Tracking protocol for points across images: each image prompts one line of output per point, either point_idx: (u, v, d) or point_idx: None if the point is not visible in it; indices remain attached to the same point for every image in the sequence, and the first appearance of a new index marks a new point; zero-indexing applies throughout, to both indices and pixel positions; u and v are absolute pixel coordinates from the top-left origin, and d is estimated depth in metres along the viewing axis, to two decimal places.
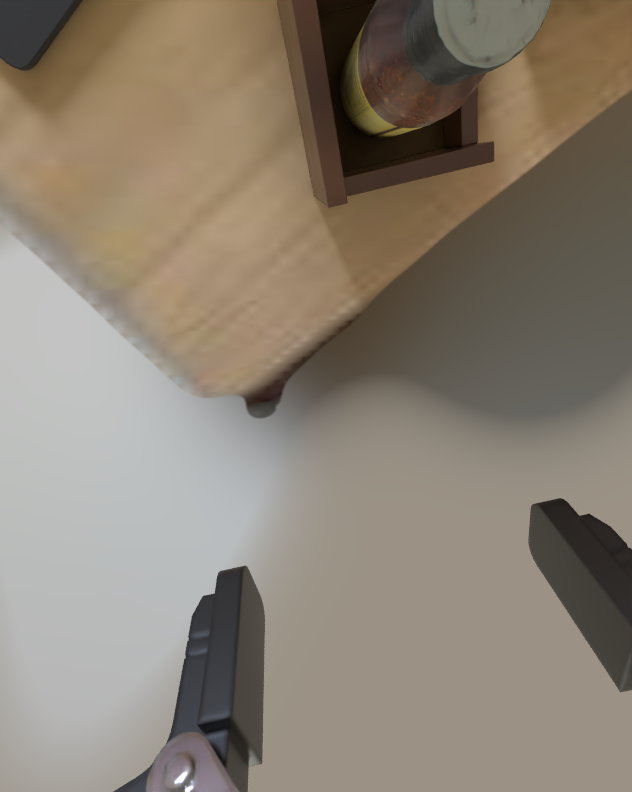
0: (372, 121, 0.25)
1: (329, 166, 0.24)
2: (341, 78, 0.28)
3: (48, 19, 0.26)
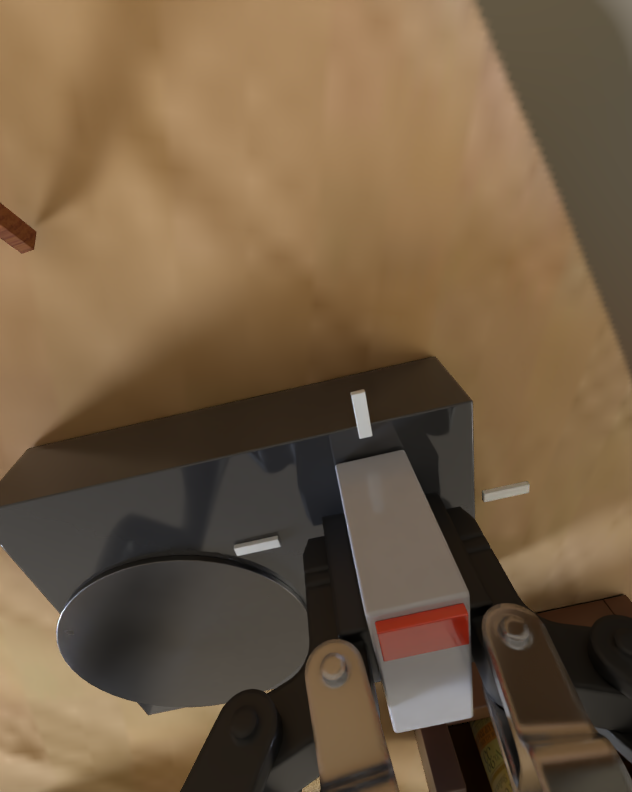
0: None
1: None
2: None
3: None
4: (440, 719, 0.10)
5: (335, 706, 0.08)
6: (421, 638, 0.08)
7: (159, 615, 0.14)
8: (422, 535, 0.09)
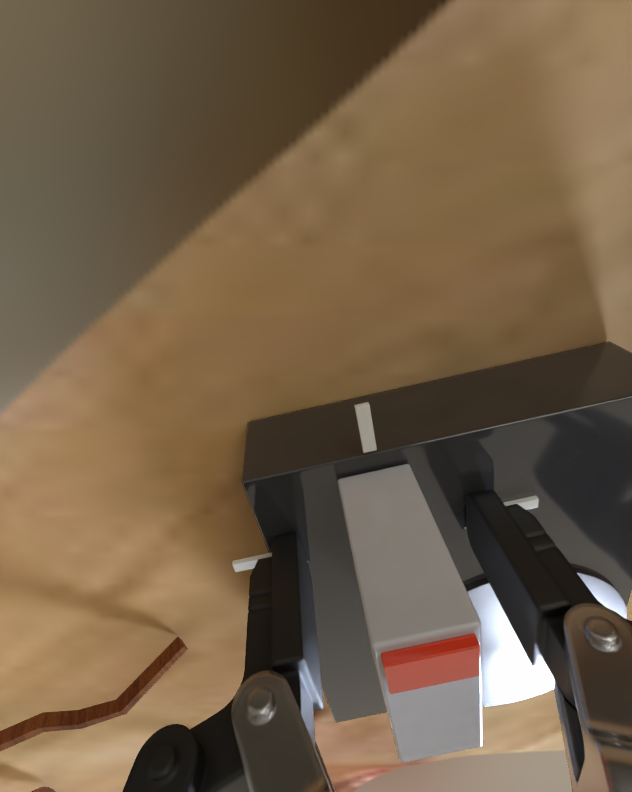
0: None
1: None
2: None
3: None
4: (448, 748, 0.09)
5: (266, 742, 0.07)
6: (430, 670, 0.07)
7: None
8: (430, 558, 0.08)
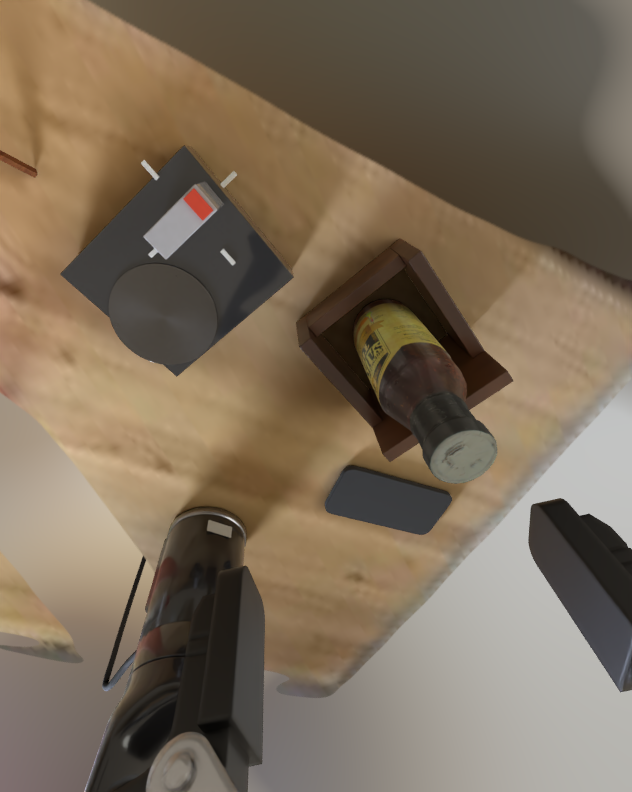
0: None
1: (487, 392, 0.33)
2: None
3: (426, 492, 0.50)
4: (159, 247, 0.28)
5: None
6: (198, 203, 0.27)
7: (142, 303, 0.34)
8: (215, 202, 0.28)
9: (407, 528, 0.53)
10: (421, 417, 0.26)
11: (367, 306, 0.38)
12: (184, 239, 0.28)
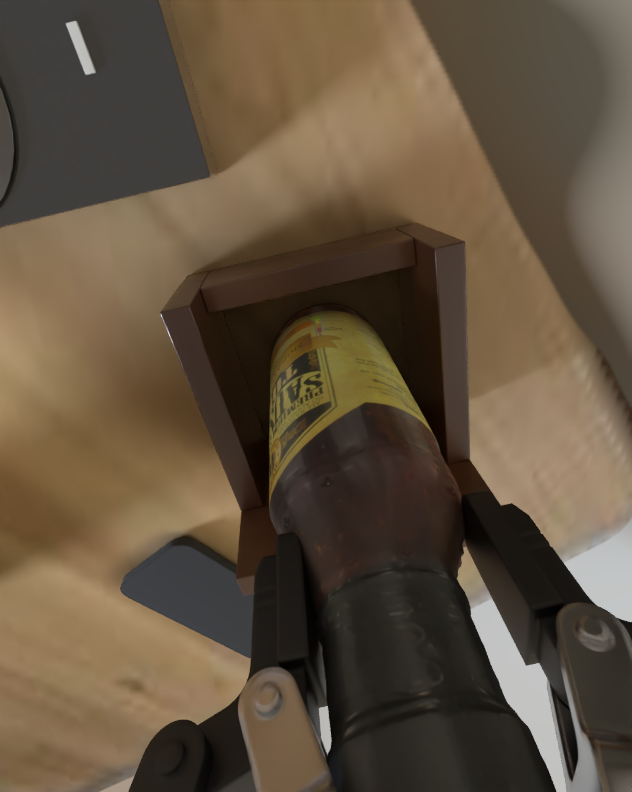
0: None
1: None
2: None
3: None
4: None
5: (272, 738, 0.07)
6: None
7: None
8: None
9: (234, 645, 0.35)
10: (362, 624, 0.09)
11: (318, 306, 0.22)
12: None
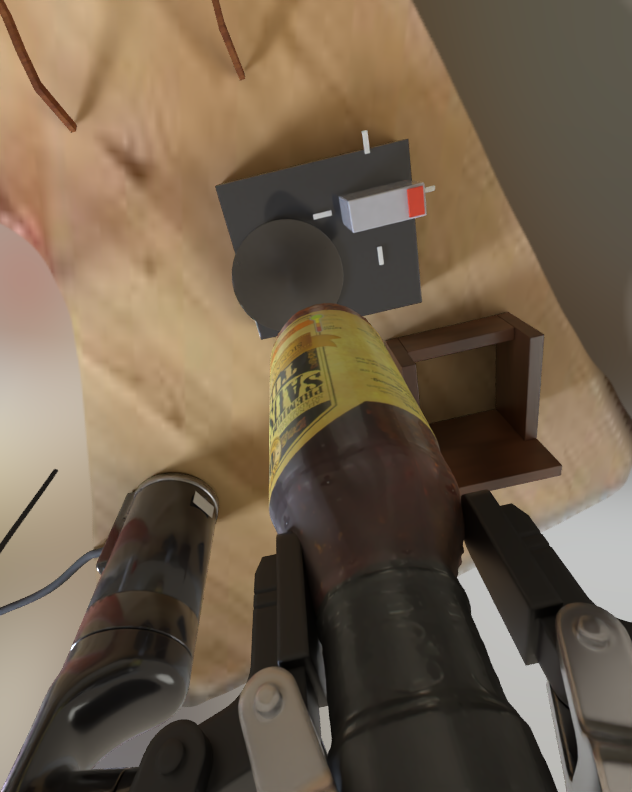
0: None
1: (537, 476, 0.36)
2: None
3: None
4: (356, 218, 0.27)
5: (273, 737, 0.07)
6: (417, 200, 0.27)
7: (277, 256, 0.32)
8: None
9: None
10: (362, 623, 0.09)
11: (318, 306, 0.22)
12: (382, 224, 0.27)
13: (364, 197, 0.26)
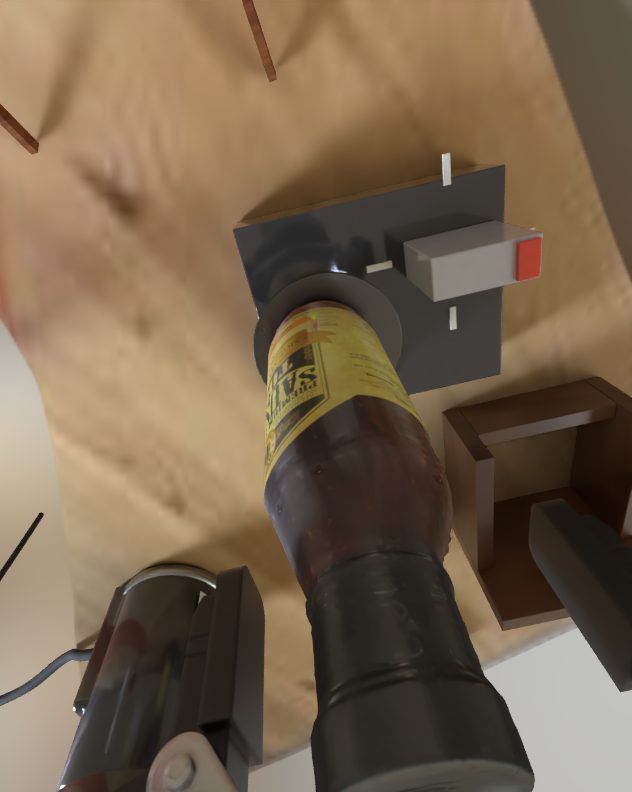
0: None
1: None
2: None
3: None
4: (440, 283, 0.19)
5: None
6: (531, 258, 0.18)
7: None
8: None
9: None
10: (349, 602, 0.09)
11: (315, 303, 0.22)
12: (476, 290, 0.19)
13: (454, 253, 0.18)
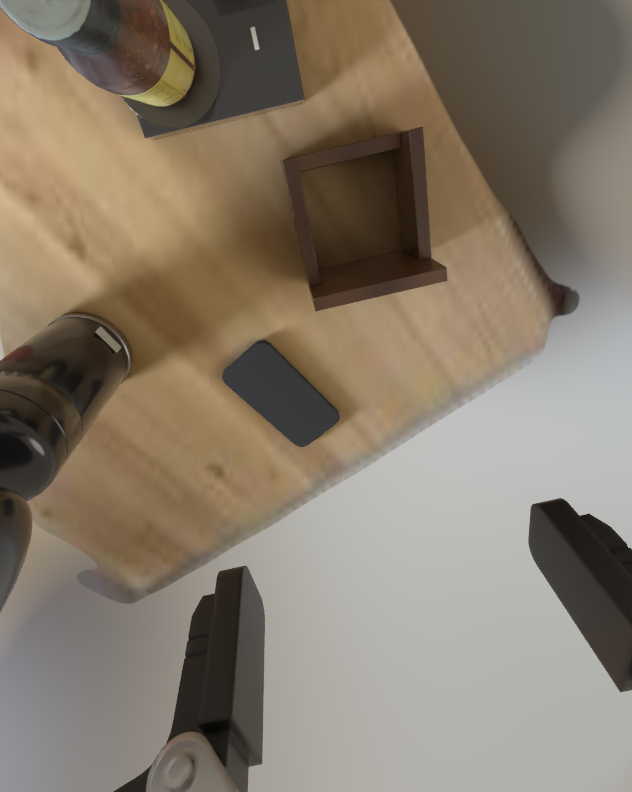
0: (174, 74, 0.27)
1: (423, 280, 0.37)
2: (154, 105, 0.33)
3: (320, 401, 0.52)
4: None
5: None
6: None
7: None
8: None
9: (288, 432, 0.54)
10: None
11: None
12: None
13: None
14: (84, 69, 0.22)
